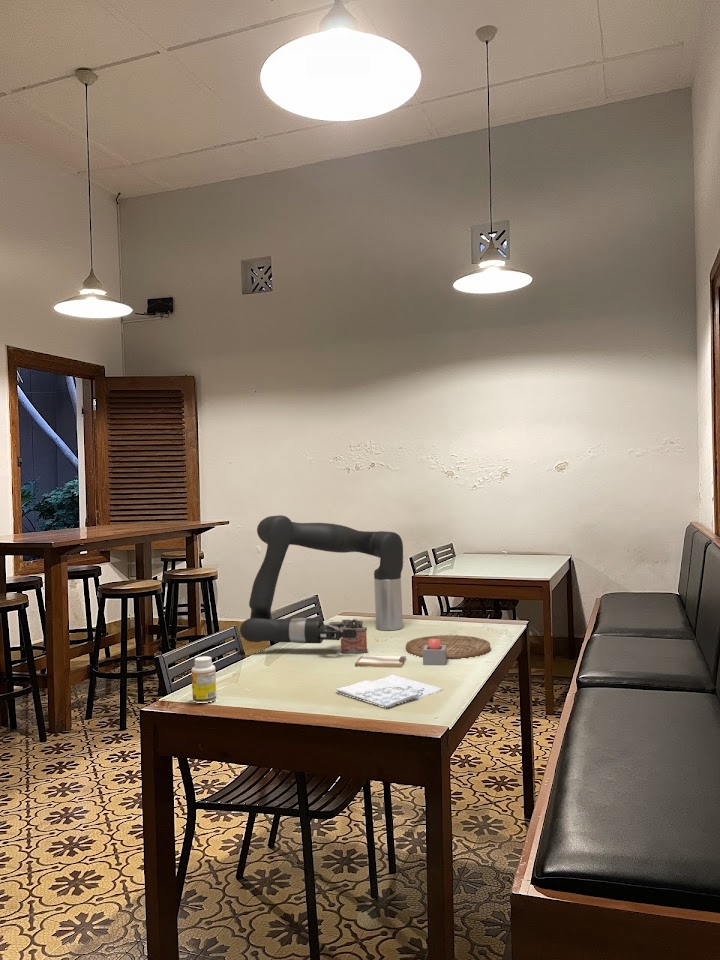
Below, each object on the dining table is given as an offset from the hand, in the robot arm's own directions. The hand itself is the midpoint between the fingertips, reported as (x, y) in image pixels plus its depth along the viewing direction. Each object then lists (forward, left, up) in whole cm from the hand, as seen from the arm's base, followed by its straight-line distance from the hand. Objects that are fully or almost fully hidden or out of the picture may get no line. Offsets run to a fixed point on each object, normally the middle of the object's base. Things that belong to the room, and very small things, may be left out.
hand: (359, 630), depth 217 cm
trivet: (-6, +26, -7) cm, 27 cm away
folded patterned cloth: (+39, +15, -7) cm, 42 cm away
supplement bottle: (+50, -28, -7) cm, 58 cm away
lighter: (0, -2, -7) cm, 7 cm away
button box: (+10, +23, -7) cm, 26 cm away
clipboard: (+11, +8, -7) cm, 16 cm away
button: (+10, +23, -5) cm, 26 cm away
